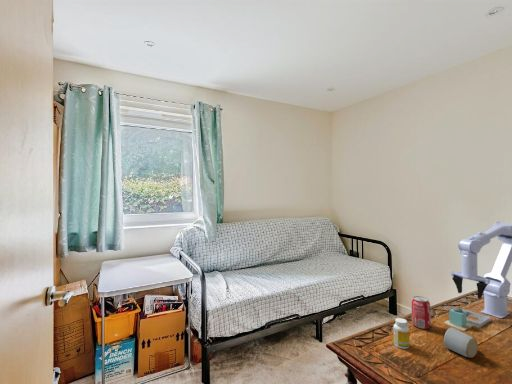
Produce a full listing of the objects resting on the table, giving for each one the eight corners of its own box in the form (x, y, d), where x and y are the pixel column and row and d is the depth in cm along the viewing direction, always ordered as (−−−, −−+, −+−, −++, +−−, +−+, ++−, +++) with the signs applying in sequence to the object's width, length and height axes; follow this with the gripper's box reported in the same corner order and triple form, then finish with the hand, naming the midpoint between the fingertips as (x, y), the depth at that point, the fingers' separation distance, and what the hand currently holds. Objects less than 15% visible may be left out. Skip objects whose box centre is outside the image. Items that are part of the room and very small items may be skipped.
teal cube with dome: (454, 320, 123) (454, 305, 123) (466, 324, 119) (466, 309, 119) (449, 322, 121) (449, 308, 120) (461, 327, 117) (461, 312, 116)
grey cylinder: (468, 362, 94) (468, 340, 94) (443, 350, 101) (443, 329, 101) (484, 353, 99) (483, 332, 99) (458, 342, 106) (458, 323, 106)
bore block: (462, 311, 132) (462, 308, 132) (490, 320, 123) (490, 317, 123) (450, 317, 126) (450, 314, 126) (479, 327, 117) (479, 324, 117)
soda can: (425, 322, 123) (425, 295, 122) (434, 330, 116) (433, 302, 115) (409, 321, 123) (408, 295, 123) (416, 329, 116) (416, 301, 116)
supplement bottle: (390, 343, 107) (390, 319, 107) (399, 340, 109) (399, 315, 109) (403, 350, 102) (402, 324, 102) (412, 346, 104) (412, 321, 104)
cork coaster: (452, 318, 125) (452, 317, 125) (473, 326, 118) (473, 325, 118) (443, 323, 121) (443, 322, 121) (464, 331, 114) (464, 330, 114)
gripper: (447, 263, 130) (447, 292, 130) (485, 270, 117) (485, 302, 117) (454, 261, 133) (454, 289, 133) (492, 268, 121) (492, 299, 121)
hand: (469, 295), depth 125 cm, fingers open, 7 cm apart
